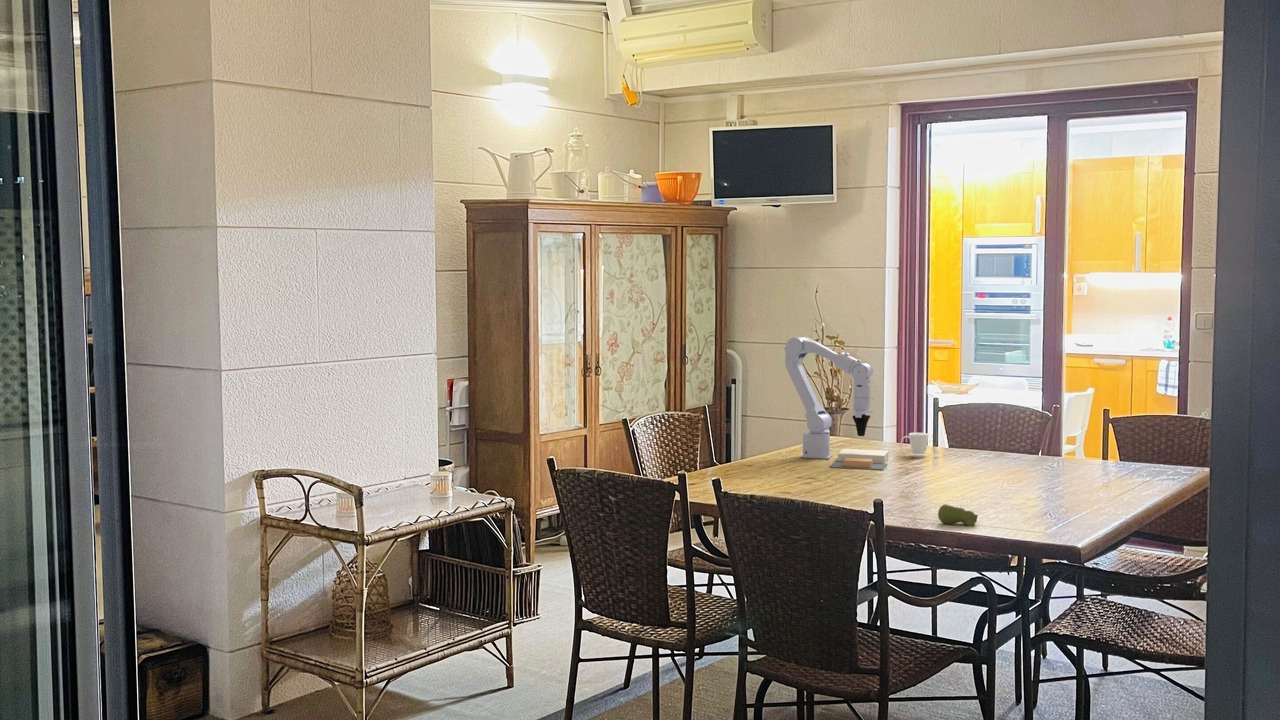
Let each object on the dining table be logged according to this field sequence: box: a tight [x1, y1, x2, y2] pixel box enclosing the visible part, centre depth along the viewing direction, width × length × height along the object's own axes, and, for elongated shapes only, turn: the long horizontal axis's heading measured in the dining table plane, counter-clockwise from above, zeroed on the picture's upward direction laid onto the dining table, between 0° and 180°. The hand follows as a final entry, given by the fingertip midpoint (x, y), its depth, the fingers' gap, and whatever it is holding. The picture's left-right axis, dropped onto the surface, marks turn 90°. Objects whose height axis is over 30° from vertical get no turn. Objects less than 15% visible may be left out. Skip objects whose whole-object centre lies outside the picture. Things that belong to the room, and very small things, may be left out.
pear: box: [937, 503, 978, 527], centre depth 305 cm, size 6×5×10 cm
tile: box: [844, 458, 873, 468], centre depth 397 cm, size 9×6×2 cm, turn 72°
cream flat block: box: [837, 448, 889, 464], centre depth 410 cm, size 16×12×3 cm
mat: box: [829, 460, 888, 471], centre depth 398 cm, size 18×12×1 cm, turn 72°
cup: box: [899, 432, 930, 458], centre depth 421 cm, size 7×10×8 cm
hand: (861, 435), depth 410 cm, fingers closed
